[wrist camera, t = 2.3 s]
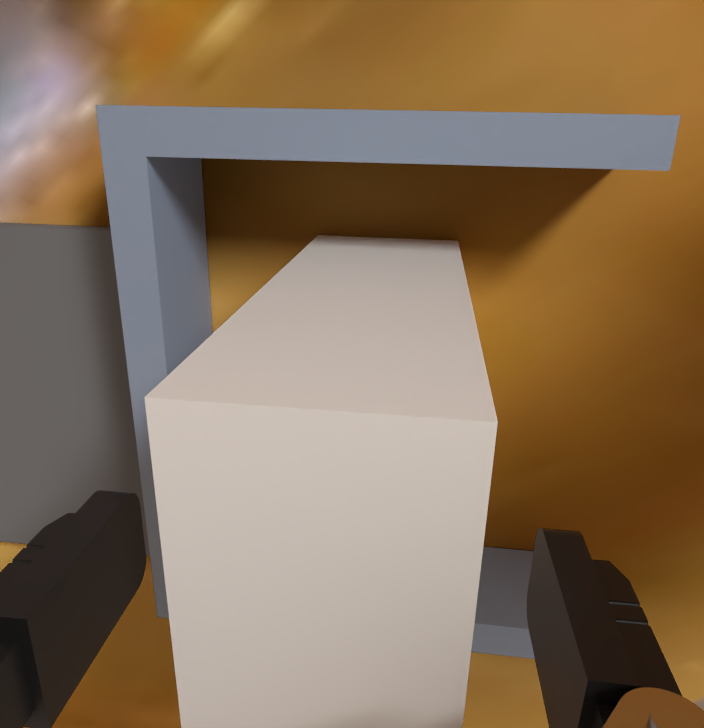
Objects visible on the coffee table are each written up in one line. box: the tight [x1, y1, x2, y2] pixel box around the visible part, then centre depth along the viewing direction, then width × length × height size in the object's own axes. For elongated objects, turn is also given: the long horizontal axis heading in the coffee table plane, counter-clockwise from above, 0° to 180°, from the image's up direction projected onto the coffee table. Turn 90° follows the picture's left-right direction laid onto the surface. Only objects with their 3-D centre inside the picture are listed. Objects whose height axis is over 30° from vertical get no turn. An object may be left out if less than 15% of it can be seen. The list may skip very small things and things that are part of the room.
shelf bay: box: [96, 105, 681, 659], centre depth 20 cm, size 14×16×4 cm
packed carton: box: [144, 235, 498, 728], centre depth 15 cm, size 4×9×13 cm, turn 178°
